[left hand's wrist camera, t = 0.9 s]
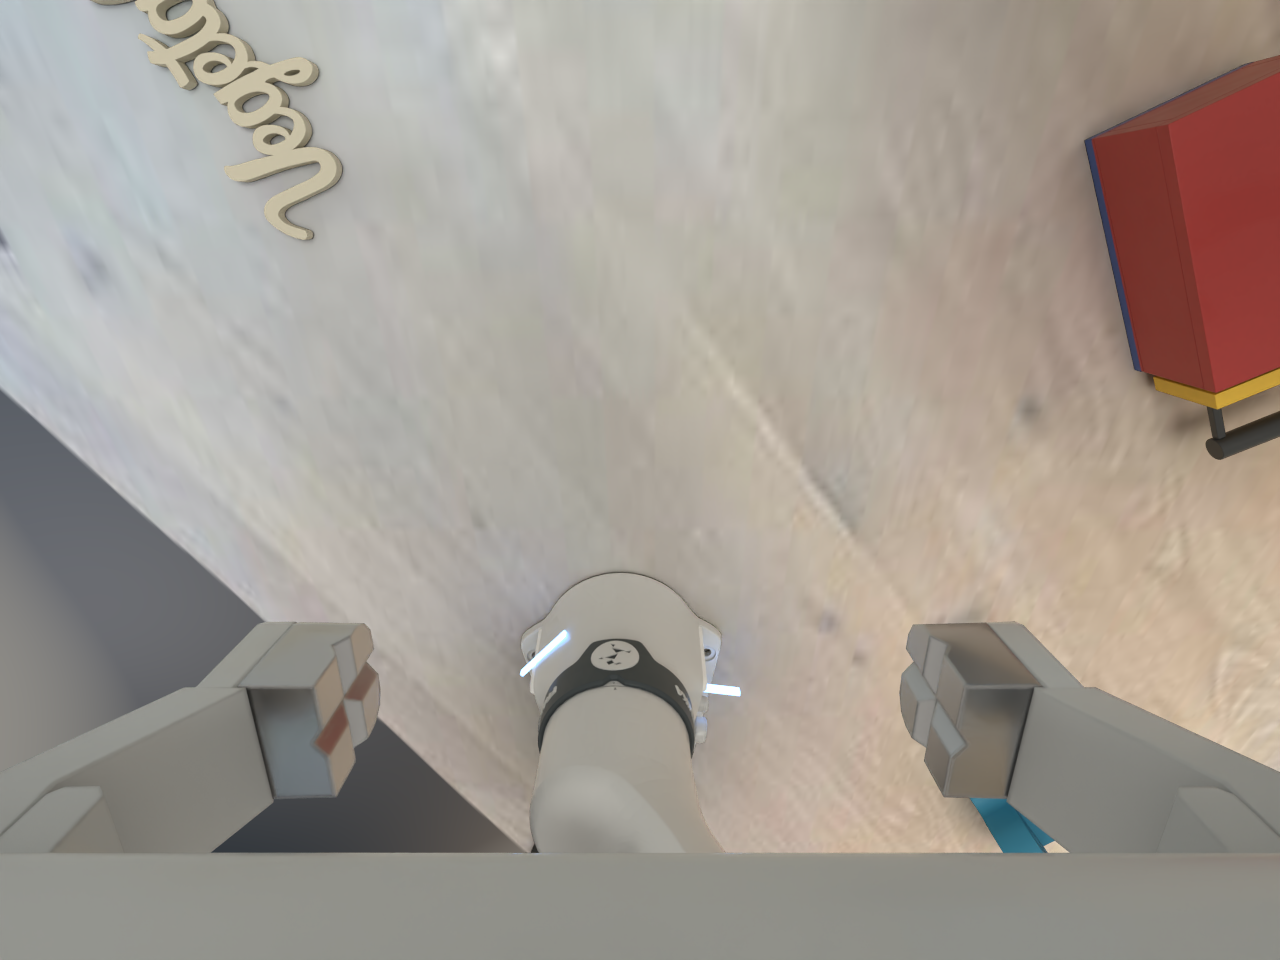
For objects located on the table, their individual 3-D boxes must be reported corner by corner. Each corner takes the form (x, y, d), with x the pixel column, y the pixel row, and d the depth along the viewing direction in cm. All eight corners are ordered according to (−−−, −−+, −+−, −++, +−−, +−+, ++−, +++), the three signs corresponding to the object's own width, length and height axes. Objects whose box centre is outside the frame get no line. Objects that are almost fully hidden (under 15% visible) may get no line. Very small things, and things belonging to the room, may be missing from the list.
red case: (1278, 309, 53) (1387, 323, 46) (1134, 369, 55) (1215, 393, 47) (1244, 64, 47) (1362, 32, 40) (1084, 140, 49) (1167, 124, 41)
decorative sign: (389, 165, 49) (292, 250, 51) (394, 166, 50) (298, 250, 52) (91, -220, 41) (-10, -101, 43) (103, -210, 42) (4, -94, 44)
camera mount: (1093, 788, 70) (1167, 880, 60) (1001, 834, 72) (1058, 930, 63) (1015, 673, 65) (1082, 752, 55) (919, 726, 67) (967, 812, 58)
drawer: (1293, 395, 55) (1370, 416, 49) (1167, 446, 56) (1228, 471, 50) (1254, 113, 48) (1340, 97, 42) (1111, 179, 49) (1175, 173, 43)
